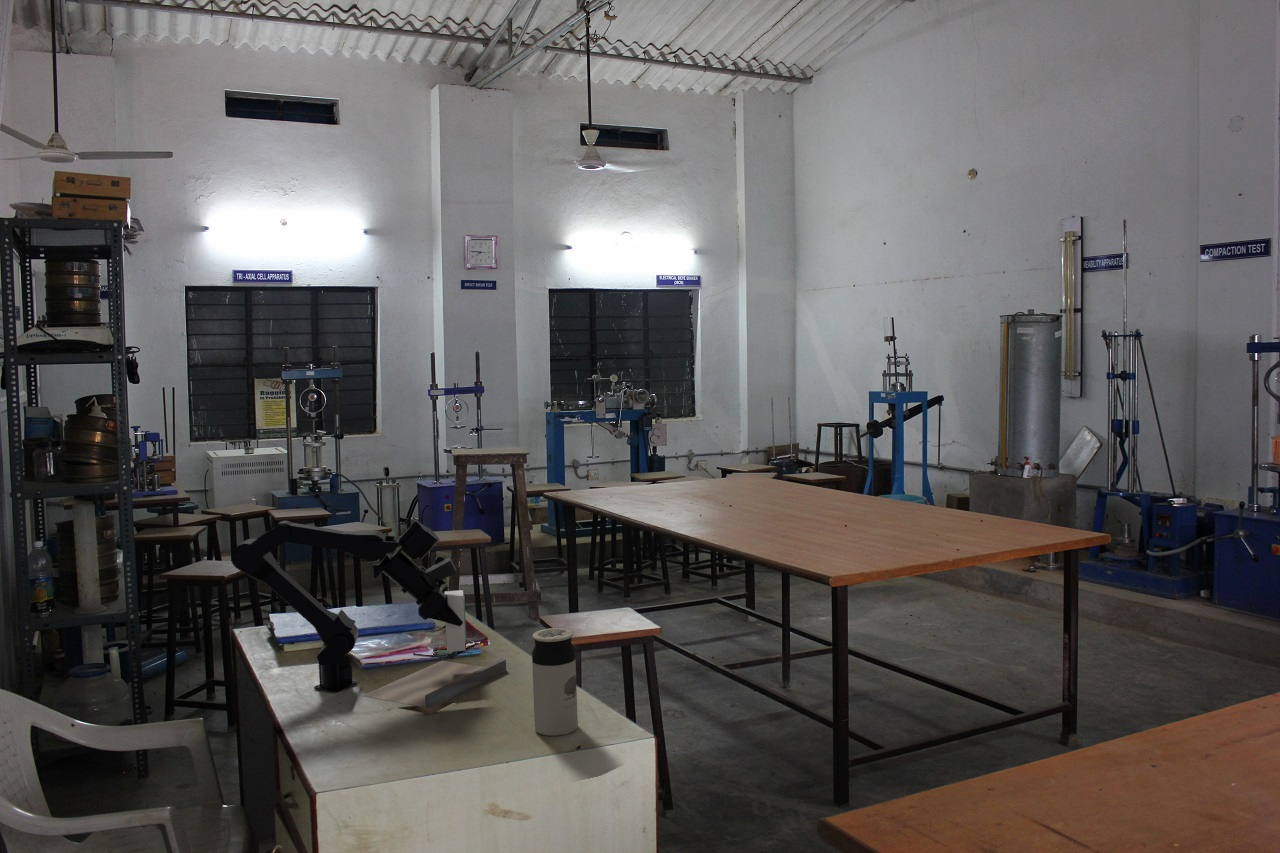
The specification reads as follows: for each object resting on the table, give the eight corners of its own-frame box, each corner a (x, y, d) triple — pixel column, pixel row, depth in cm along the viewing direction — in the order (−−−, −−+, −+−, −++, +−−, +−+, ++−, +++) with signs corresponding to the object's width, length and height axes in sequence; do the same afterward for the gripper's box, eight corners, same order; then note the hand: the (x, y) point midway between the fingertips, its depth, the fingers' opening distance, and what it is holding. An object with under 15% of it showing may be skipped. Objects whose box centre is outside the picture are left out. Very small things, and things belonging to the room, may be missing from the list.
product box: (446, 652, 206) (444, 597, 205) (447, 644, 211) (444, 591, 210) (466, 650, 206) (464, 595, 206) (466, 643, 212) (464, 590, 211)
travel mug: (526, 730, 177) (522, 634, 175) (557, 717, 182) (554, 625, 181) (554, 740, 171) (551, 642, 170) (586, 727, 177) (583, 632, 176)
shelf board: (362, 701, 195) (361, 684, 195) (442, 665, 217) (441, 650, 217) (430, 714, 186) (429, 696, 186) (506, 675, 208) (505, 659, 208)
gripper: (432, 555, 197) (488, 603, 200) (434, 539, 216) (485, 584, 218) (394, 595, 196) (451, 643, 199) (400, 576, 215) (452, 620, 218)
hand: (461, 621), depth 209 cm, fingers closed on product box, 5 cm apart
